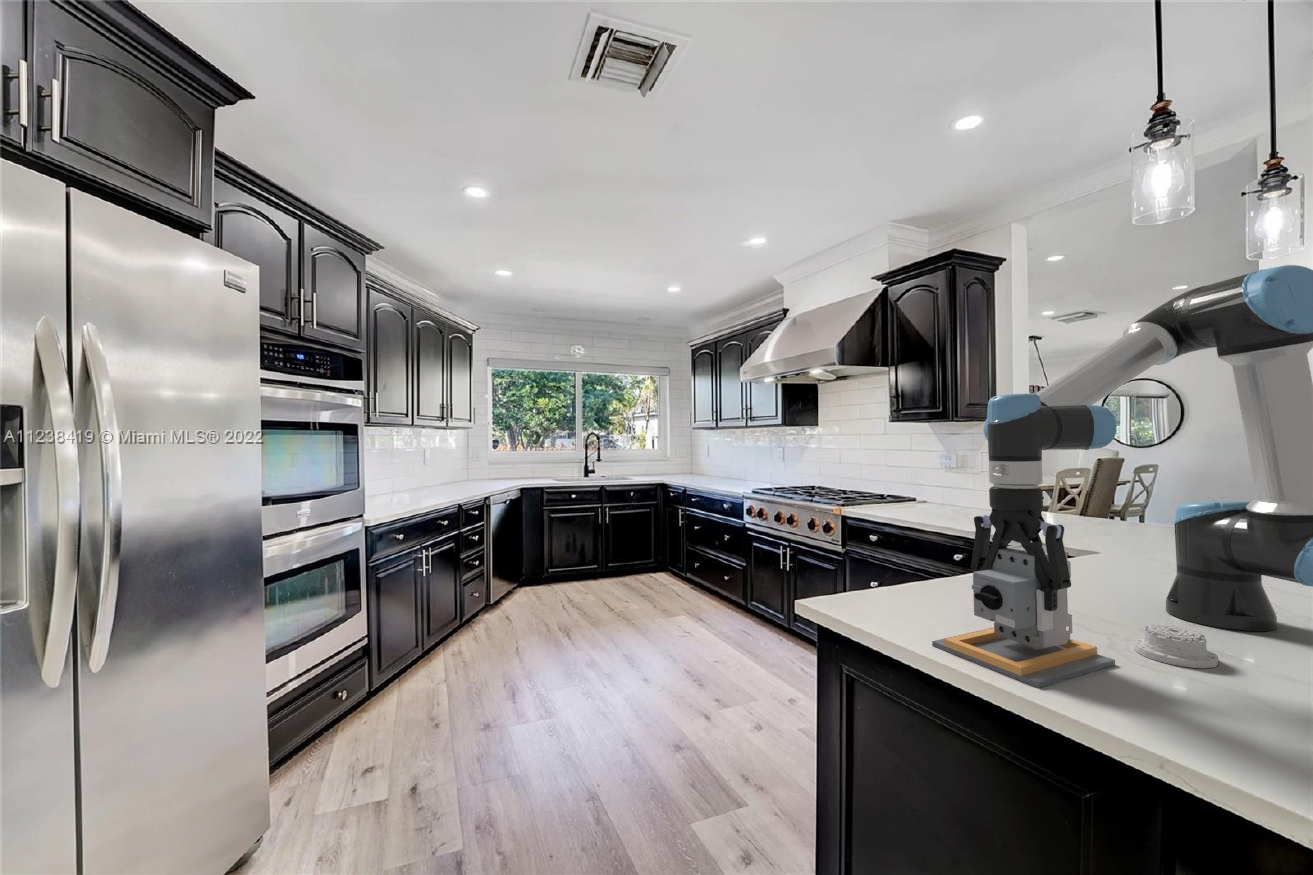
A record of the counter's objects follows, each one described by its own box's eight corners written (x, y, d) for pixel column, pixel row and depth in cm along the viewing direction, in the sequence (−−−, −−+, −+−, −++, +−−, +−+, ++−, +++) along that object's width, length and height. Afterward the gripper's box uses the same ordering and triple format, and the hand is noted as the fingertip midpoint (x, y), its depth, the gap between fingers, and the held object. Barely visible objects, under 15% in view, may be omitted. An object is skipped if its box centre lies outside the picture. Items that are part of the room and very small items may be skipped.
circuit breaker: (967, 638, 92) (964, 550, 92) (1029, 627, 96) (1026, 544, 96) (1007, 654, 85) (1004, 559, 85) (1072, 642, 89) (1070, 552, 89)
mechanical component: (1160, 668, 85) (1236, 672, 83) (1160, 640, 85) (1235, 643, 83) (1120, 644, 95) (1187, 647, 93) (1119, 619, 95) (1186, 622, 93)
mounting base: (1004, 629, 103) (1004, 618, 103) (1115, 664, 86) (1114, 652, 86) (932, 645, 95) (932, 634, 95) (1038, 688, 79) (1038, 674, 79)
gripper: (945, 483, 99) (948, 607, 99) (1068, 492, 80) (1072, 646, 80) (973, 481, 102) (976, 602, 102) (1098, 489, 83) (1102, 638, 83)
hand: (1018, 621), depth 91 cm, fingers closed on circuit breaker, 8 cm apart
